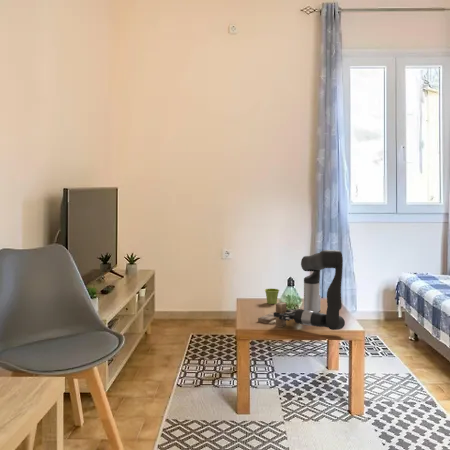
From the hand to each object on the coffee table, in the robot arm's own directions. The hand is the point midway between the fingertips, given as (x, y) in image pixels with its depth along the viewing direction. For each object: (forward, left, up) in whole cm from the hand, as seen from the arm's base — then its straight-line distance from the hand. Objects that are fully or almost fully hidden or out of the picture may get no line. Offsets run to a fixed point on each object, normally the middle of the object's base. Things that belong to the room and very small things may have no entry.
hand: (278, 312), depth 253 cm
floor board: (-6, -10, -7) cm, 13 cm away
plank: (0, +2, -7) cm, 7 cm away
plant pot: (-32, -39, -7) cm, 51 cm away
